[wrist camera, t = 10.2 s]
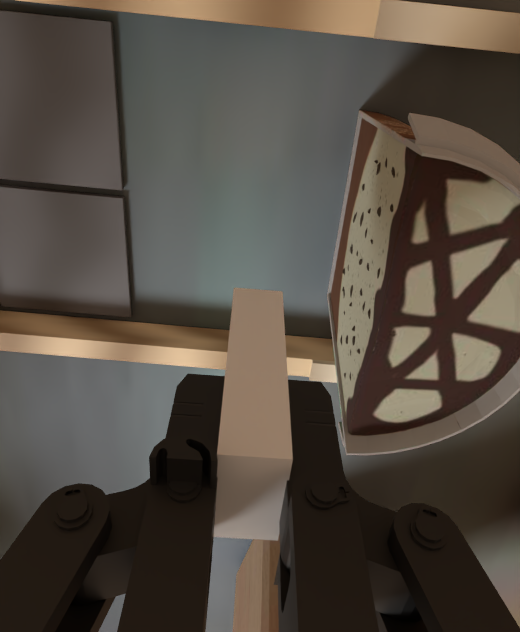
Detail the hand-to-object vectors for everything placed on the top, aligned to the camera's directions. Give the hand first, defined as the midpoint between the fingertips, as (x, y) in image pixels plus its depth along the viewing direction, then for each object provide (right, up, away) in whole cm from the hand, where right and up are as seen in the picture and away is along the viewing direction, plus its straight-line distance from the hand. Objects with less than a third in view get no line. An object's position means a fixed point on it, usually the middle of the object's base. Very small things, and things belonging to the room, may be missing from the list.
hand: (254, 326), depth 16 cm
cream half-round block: (+7, +5, +8) cm, 12 cm away
